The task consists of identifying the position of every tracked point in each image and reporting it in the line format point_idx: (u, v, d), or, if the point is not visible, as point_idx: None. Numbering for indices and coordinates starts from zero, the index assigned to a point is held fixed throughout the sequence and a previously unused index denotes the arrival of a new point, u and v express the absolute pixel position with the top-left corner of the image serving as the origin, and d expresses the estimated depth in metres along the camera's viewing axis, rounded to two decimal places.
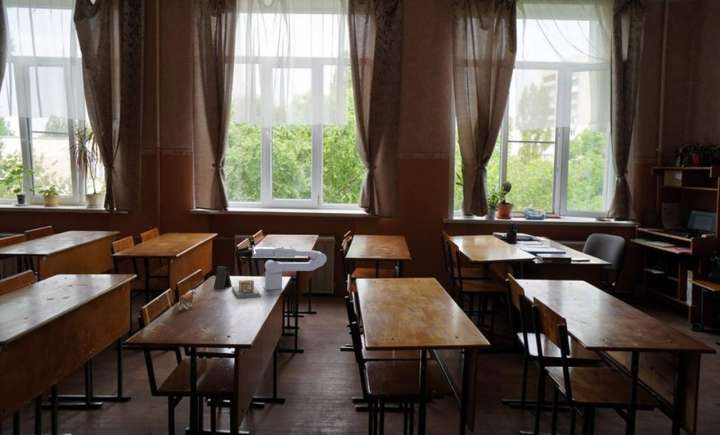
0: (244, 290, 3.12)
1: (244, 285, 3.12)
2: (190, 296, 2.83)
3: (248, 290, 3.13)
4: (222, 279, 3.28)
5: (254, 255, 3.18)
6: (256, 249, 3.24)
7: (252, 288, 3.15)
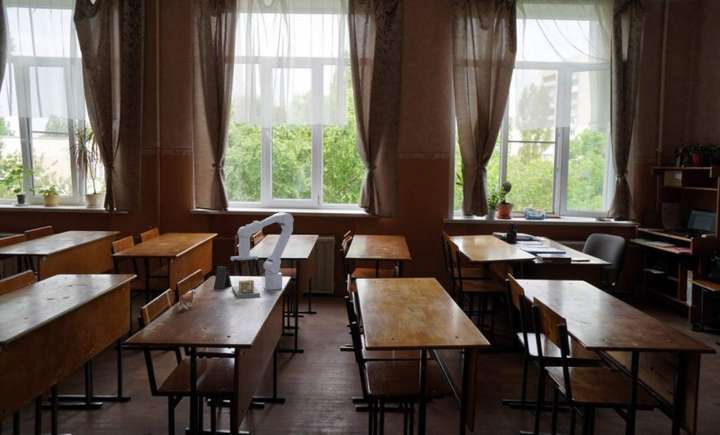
0: (244, 290, 3.12)
1: (244, 285, 3.12)
2: (190, 296, 2.83)
3: (248, 290, 3.13)
4: (222, 279, 3.28)
5: None
6: (248, 255, 3.18)
7: (252, 288, 3.15)
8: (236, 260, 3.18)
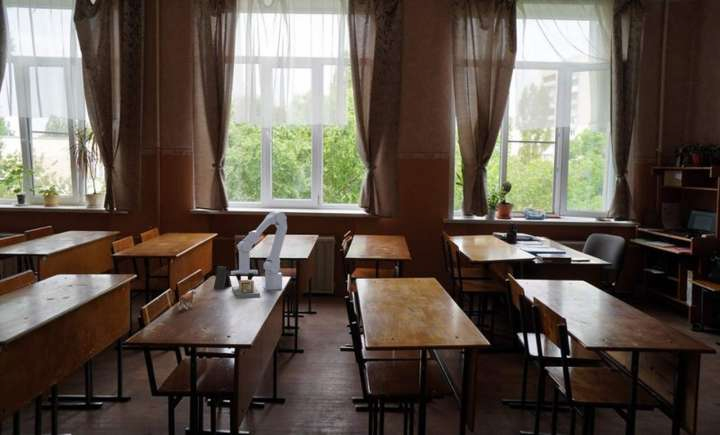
0: (244, 290, 3.12)
1: (244, 285, 3.12)
2: (190, 296, 2.83)
3: (248, 290, 3.13)
4: (222, 279, 3.28)
5: None
6: (248, 269, 3.19)
7: (252, 288, 3.15)
8: (236, 274, 3.18)
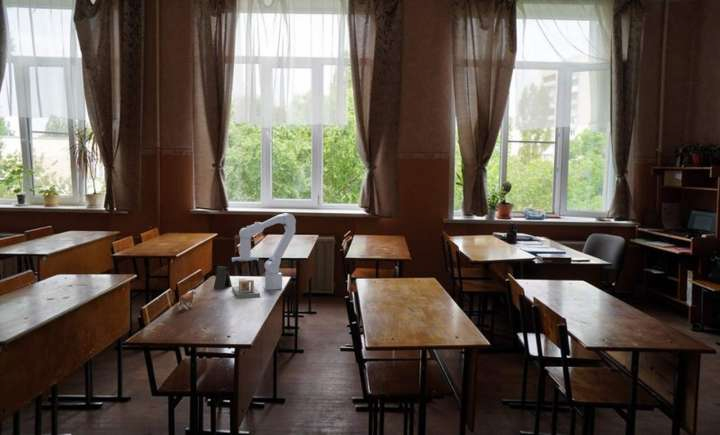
0: (242, 288, 3.17)
1: (242, 283, 3.17)
2: (190, 296, 2.83)
3: (246, 288, 3.18)
4: (222, 279, 3.28)
5: None
6: (249, 255, 3.22)
7: (252, 288, 3.15)
8: (237, 261, 3.21)
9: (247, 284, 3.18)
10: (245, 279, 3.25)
